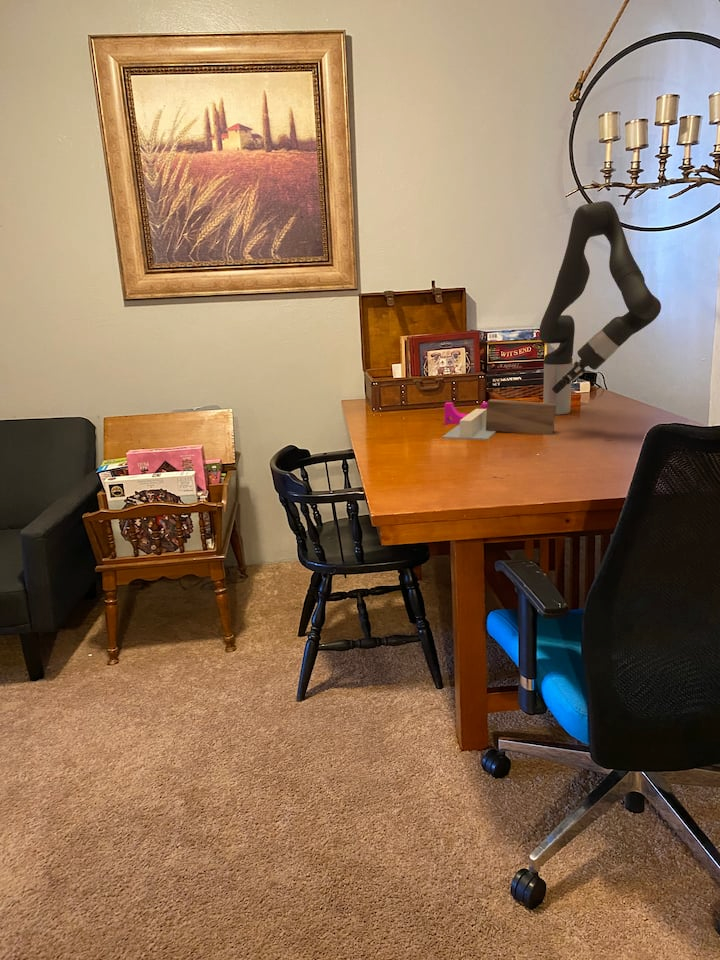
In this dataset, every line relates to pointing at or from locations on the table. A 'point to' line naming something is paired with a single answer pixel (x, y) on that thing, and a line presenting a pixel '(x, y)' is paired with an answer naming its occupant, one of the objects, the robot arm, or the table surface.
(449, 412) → the magenta curved piece
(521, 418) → the beam
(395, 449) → the table surface
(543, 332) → the robot arm
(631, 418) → the table surface
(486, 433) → the fulcrum
